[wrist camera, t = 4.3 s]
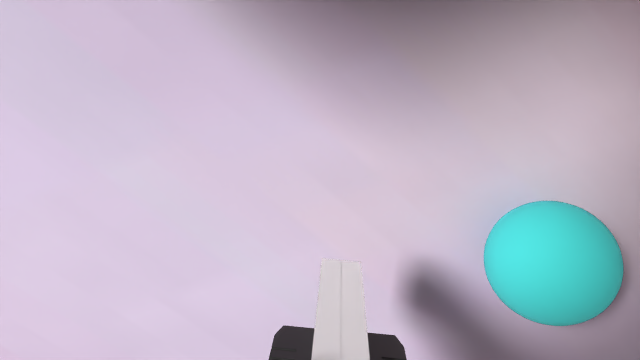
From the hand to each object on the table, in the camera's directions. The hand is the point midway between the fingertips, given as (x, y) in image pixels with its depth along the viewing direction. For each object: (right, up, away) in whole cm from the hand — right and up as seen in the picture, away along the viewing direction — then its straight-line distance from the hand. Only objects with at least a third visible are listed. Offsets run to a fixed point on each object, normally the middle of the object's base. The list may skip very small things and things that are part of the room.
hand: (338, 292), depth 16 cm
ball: (+10, +1, +3) cm, 10 cm away
